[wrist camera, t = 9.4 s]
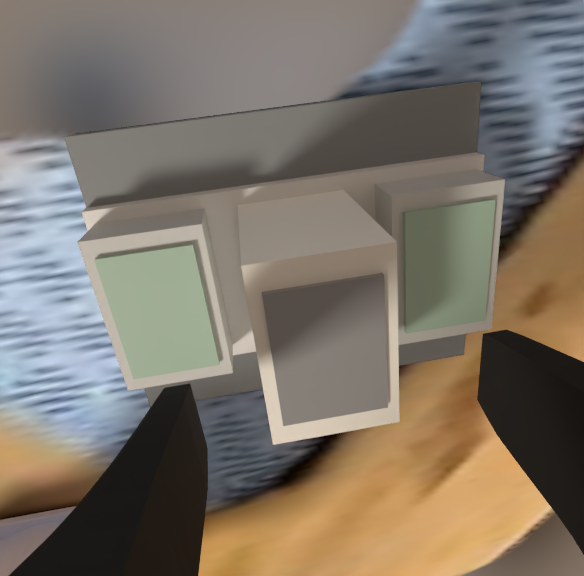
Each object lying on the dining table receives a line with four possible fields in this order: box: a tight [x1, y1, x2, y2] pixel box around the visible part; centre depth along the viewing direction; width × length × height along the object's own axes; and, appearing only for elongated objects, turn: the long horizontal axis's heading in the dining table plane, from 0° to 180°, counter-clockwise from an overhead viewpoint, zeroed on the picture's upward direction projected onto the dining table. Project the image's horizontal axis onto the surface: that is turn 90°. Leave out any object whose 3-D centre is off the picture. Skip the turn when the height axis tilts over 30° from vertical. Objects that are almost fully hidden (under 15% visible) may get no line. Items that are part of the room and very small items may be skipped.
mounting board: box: [64, 82, 505, 407], centre depth 18 cm, size 15×12×4 cm
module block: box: [238, 190, 399, 445], centre depth 15 cm, size 4×6×6 cm, turn 7°
